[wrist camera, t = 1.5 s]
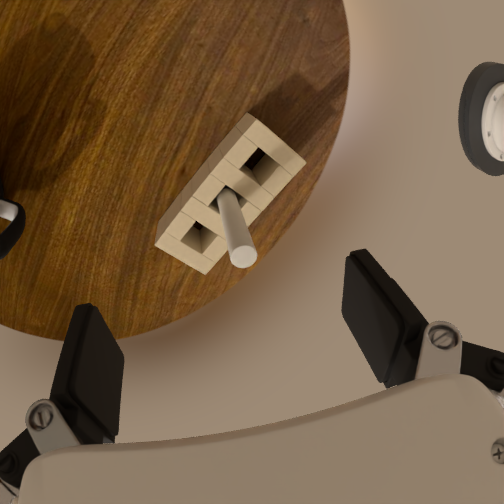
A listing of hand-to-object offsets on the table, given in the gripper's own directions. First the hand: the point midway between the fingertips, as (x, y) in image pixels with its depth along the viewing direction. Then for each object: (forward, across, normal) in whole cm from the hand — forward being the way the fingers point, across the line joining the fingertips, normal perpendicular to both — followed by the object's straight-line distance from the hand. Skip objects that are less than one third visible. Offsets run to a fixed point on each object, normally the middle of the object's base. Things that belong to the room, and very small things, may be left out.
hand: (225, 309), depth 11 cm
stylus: (+23, -2, +4) cm, 24 cm away
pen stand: (+23, -2, +4) cm, 24 cm away
